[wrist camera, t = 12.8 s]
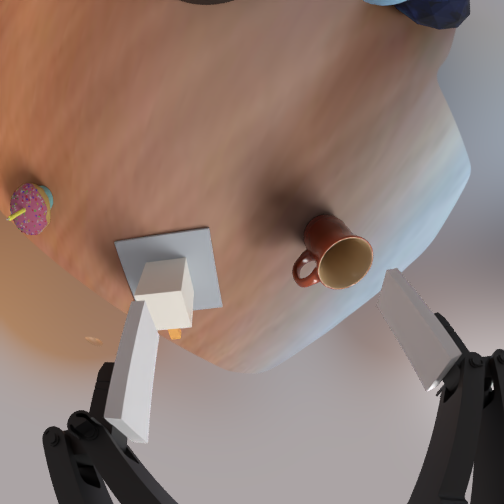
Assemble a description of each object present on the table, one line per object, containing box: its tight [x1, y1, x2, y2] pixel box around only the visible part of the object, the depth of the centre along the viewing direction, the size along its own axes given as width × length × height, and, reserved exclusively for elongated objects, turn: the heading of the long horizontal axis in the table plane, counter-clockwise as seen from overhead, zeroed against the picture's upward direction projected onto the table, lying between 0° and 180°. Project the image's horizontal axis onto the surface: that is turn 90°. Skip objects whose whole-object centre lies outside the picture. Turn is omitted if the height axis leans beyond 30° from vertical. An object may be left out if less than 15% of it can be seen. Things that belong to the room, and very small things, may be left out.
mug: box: [292, 215, 373, 289], centre depth 41 cm, size 12×9×10 cm
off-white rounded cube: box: [134, 257, 194, 339], centre depth 42 cm, size 10×7×9 cm, turn 4°
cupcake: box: [7, 183, 53, 235], centre depth 30 cm, size 9×8×12 cm
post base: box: [114, 227, 222, 310], centre depth 43 cm, size 16×16×6 cm
